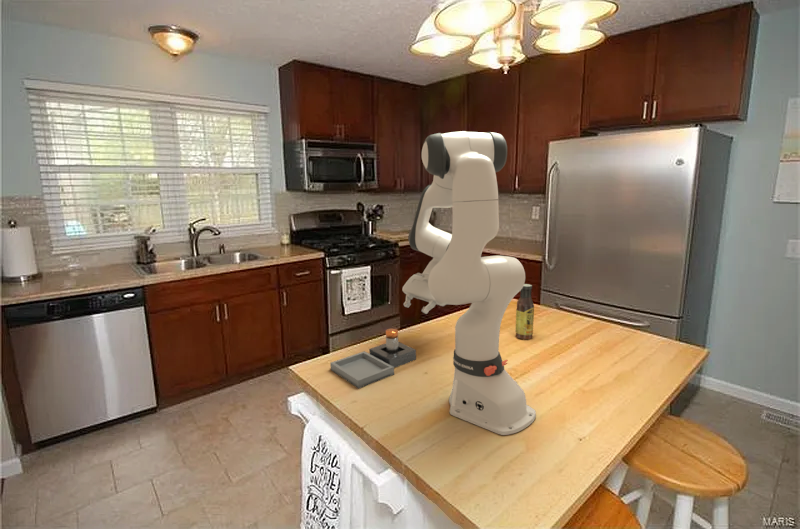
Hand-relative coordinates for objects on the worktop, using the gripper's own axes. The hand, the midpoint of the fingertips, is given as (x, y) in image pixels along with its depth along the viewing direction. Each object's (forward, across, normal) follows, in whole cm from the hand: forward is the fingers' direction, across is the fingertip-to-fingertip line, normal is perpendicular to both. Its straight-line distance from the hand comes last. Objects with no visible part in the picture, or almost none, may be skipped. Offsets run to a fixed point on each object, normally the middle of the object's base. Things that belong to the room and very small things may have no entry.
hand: (414, 309), depth 139 cm
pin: (+18, 0, +4) cm, 18 cm away
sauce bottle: (-16, +18, +38) cm, 45 cm away
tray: (+27, +1, -6) cm, 28 cm away
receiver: (+18, 0, +4) cm, 18 cm away
